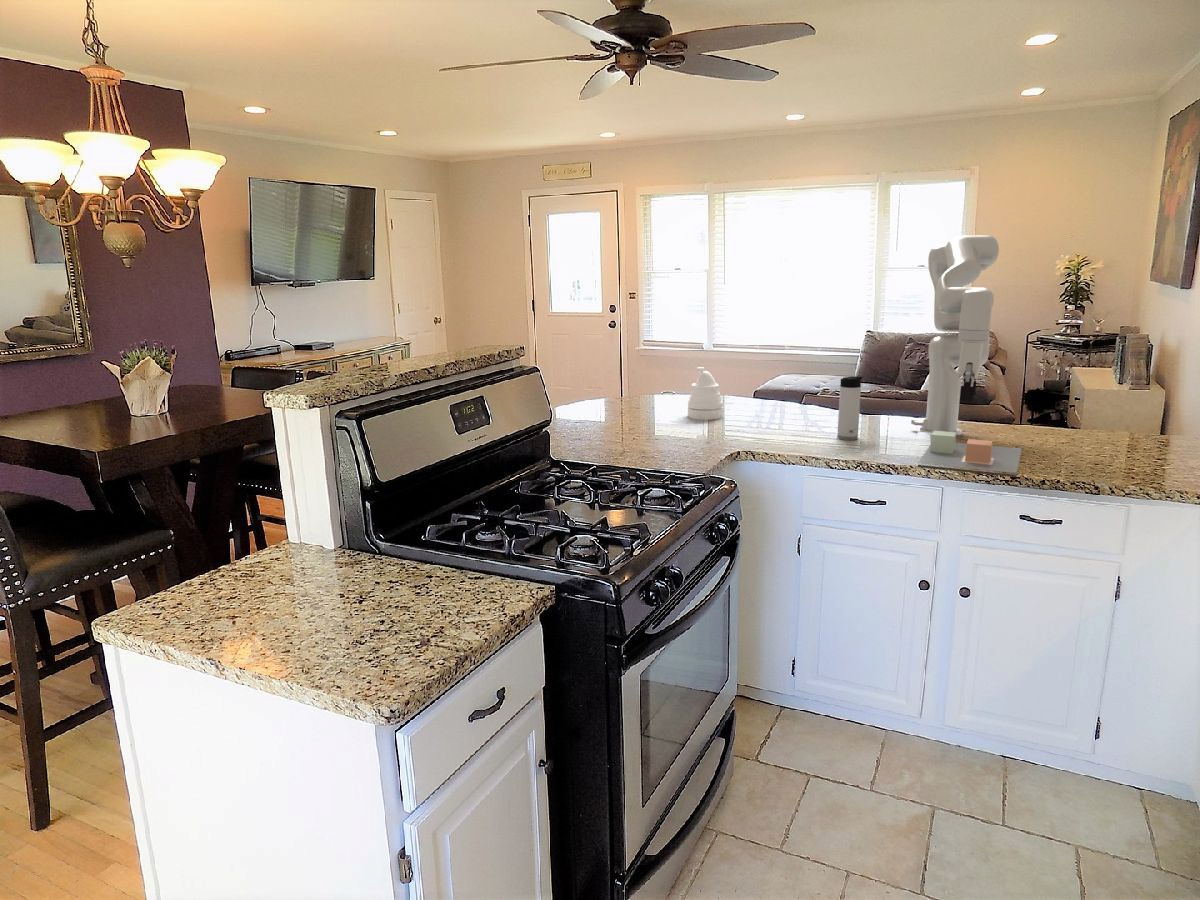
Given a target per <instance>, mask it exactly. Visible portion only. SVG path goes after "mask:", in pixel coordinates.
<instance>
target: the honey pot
mask: <svg viewBox="0 0 1200 900" xmlns="http://www.w3.org/2000/svg"><path fill="white" fill-rule="evenodd" d="M696 369H697V370H696V371H697V372H698V373H699V376H698V377H697V379H696V381H695V382H694V383H691V388H692V390H691V393H690V396H689V400H688V402H687V417H688V418H690V419H694V420H702V421H703V420H704V421H705V420H706V421H708V420H710V421H711V420H719V419H722V418H723V417H724V402H723V400H722V396H721V392H720V390H719V387H720V385H719V384H718V383H717V382H716V380H715V378H714V376H713V375H712V374H711V372H709V371H708V370H705V367H704V366H703V367H701V366H699V367H696Z"/></svg>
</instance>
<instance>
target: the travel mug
mask: <svg viewBox="0 0 1200 900" xmlns="http://www.w3.org/2000/svg"><path fill="white" fill-rule="evenodd" d="M862 380H863V376H862V375H857V376H845V377H842V378H840V385H839V397H838V398H839V400H838V401H839V402H838V403H839V404H838V417H837V420H838V421H837V438H838V439H840V440H844V441H854V440H857V439H858V438H859V426H860V425H859V423H860V410H861V409H860V408H861V391H862V390H861V389H862Z"/></svg>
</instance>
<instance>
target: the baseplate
mask: <svg viewBox="0 0 1200 900" xmlns="http://www.w3.org/2000/svg"><path fill="white" fill-rule="evenodd" d="M966 445H967V443H964V442H963V443H962V442H955V450H954V452H953V453H952V454H951V453H941V452H930V445H929V446H928V448H927V449H926V451H925V452H924V453H923V455H922V456H921V458H920V459H919V461H918V464H917V467H918V468H923V469H924V468H925V469H934V470H942V471H943V470H945V471H953V472H962V473H971V474H972V473H973V474H982V475H992V476H998V477H999V476H1001V477H1011V478H1012V477H1013V478H1017V476H1018V472H1017V471H1018V469H1019V466H1020V465H1019V464H1020V459H1021V454H1022V450H1023V449H1022V448H1020V447H1008V446H997V445H992V452H991V460H990V463H978V462H968V461H965V455H966ZM926 464H927V465H926ZM934 465H935V466H934ZM964 468H965V469H964ZM973 469H974V470H973ZM975 469H976V470H975ZM983 470H985V471H983ZM991 471H993V472H991ZM1002 472H1004V473H1002ZM1011 473H1012V474H1011ZM1013 473H1014V474H1013Z"/></svg>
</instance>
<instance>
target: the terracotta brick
mask: <svg viewBox="0 0 1200 900" xmlns="http://www.w3.org/2000/svg"><path fill="white" fill-rule="evenodd" d="M993 443H994V442H993V441H992V440H986V439H985V440H984V439H983V440H982V439H973V438H971V439H970V438H968V440H967V442H966V444H967V445H966V455H965V461H968V462H978V463H990V460H991V452H992V446H993Z"/></svg>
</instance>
